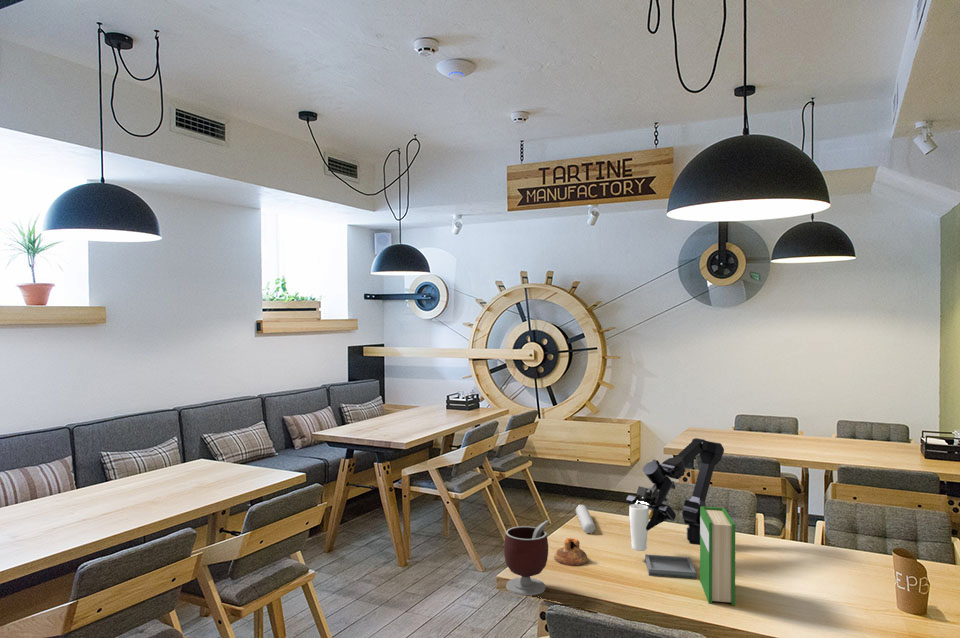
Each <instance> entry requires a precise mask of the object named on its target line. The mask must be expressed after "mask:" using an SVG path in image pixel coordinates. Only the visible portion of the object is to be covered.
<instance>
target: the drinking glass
mask: <svg viewBox="0 0 960 638" xmlns="http://www.w3.org/2000/svg"><path fill="white" fill-rule="evenodd" d="M628 508H629V510H628V513H629V515H628V518H629V531H630V542H631V543H630V547H631V549H632V550H634V551H637V552H645V551H646V550H647V549H648V535H649V532H648V531H649V530H646V527H647V525H648V523H649V521H650V510H649V507H648V506H646V505H642V504H632V505H629V507H628Z"/></svg>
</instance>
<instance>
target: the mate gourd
mask: <svg viewBox="0 0 960 638" xmlns="http://www.w3.org/2000/svg"><path fill="white" fill-rule="evenodd" d="M548 523H550V520H549V519H547V520H545V521H543V522H541V523H540V524H539V525H537V527H535V526H528V525H525V526H524V525H522V526H521V525H520V526H513V527H510V528H508V529H507V530H506V531H505V536H504V543H503V554H504V560H505V564H506V566H507V568H508V569H509V571H510V572H511V573H513V574H515V575H517V576H520V577H516V578H512V579H509V580H508V581H507V582H506V584H505V585H506V586H505V587H506V590H507V591H509V592H510V593H513V594H515V595H518V596H524V597H525V596H527V597H528V596H530V597H531V596H537V595H541V594H543V593H544V591H546V584H545V583H544V582H543V581H541V580H539V579H537V578H532V577H533V576H537V575H540V574H541V573H542V572H543V570H544V569H545V567H546V566H547V563H548V558H549V542H548V535H547V534H548V533H547V532H546V531H545V530H544V528H545V527H546V526H547V524H548Z"/></svg>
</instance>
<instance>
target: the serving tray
mask: <svg viewBox="0 0 960 638" xmlns="http://www.w3.org/2000/svg"><path fill="white" fill-rule="evenodd" d="M644 561H645V565H646V569H647V574H648V576H654V577H668V578H679V579H680V578H681V579H692V580H696V579H697V571H696V569H695V567H694V564H693V562H692V560H691V558H690V557H689V556H676V555H675V556H673V555H659V554H648V553H645V555H644Z"/></svg>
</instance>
